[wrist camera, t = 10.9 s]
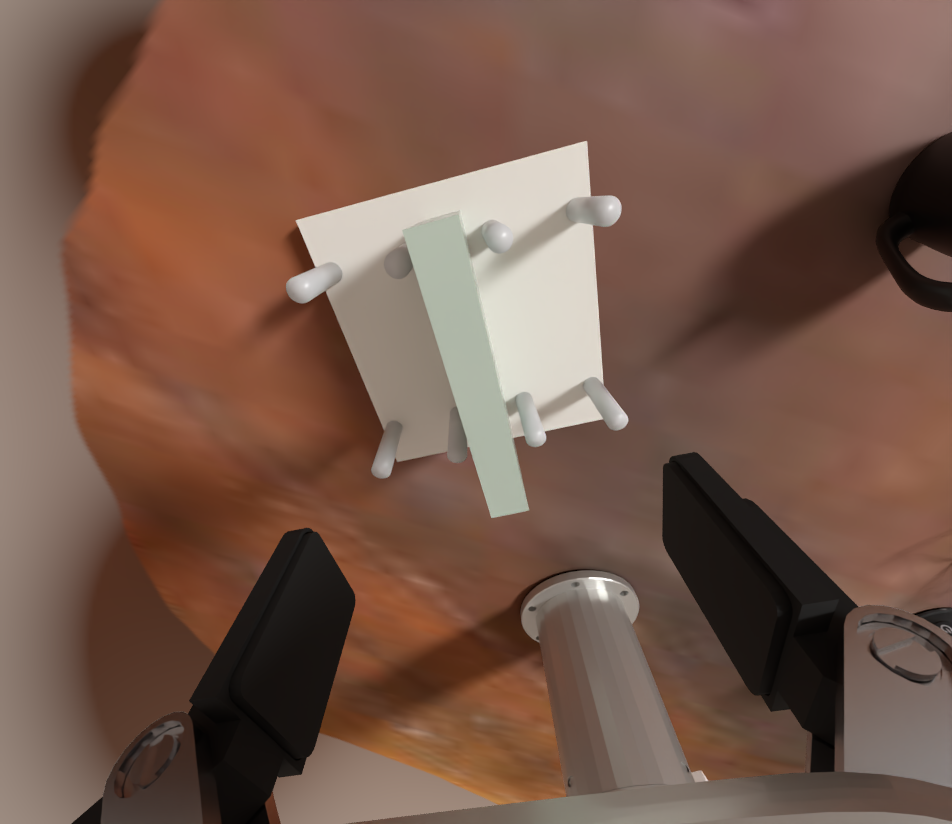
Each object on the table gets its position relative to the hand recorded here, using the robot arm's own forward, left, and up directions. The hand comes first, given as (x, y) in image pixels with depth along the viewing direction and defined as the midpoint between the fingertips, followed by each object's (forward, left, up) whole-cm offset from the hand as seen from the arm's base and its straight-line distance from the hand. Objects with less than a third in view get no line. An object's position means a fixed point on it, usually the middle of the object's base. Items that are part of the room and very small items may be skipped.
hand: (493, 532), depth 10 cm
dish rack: (0, 0, -18) cm, 18 cm away
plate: (0, 0, -16) cm, 16 cm away
